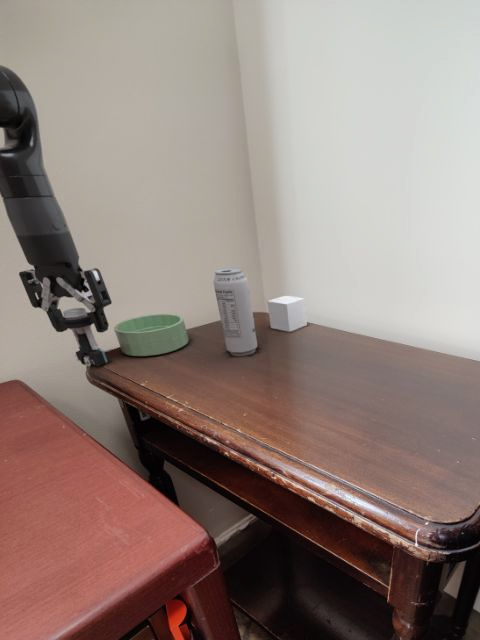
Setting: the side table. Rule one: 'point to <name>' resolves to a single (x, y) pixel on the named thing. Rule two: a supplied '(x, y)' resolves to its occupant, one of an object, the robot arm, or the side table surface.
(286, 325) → the white cube
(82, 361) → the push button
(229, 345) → the energy drink can
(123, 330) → the bowl
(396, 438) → the side table surface
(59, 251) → the robot arm
